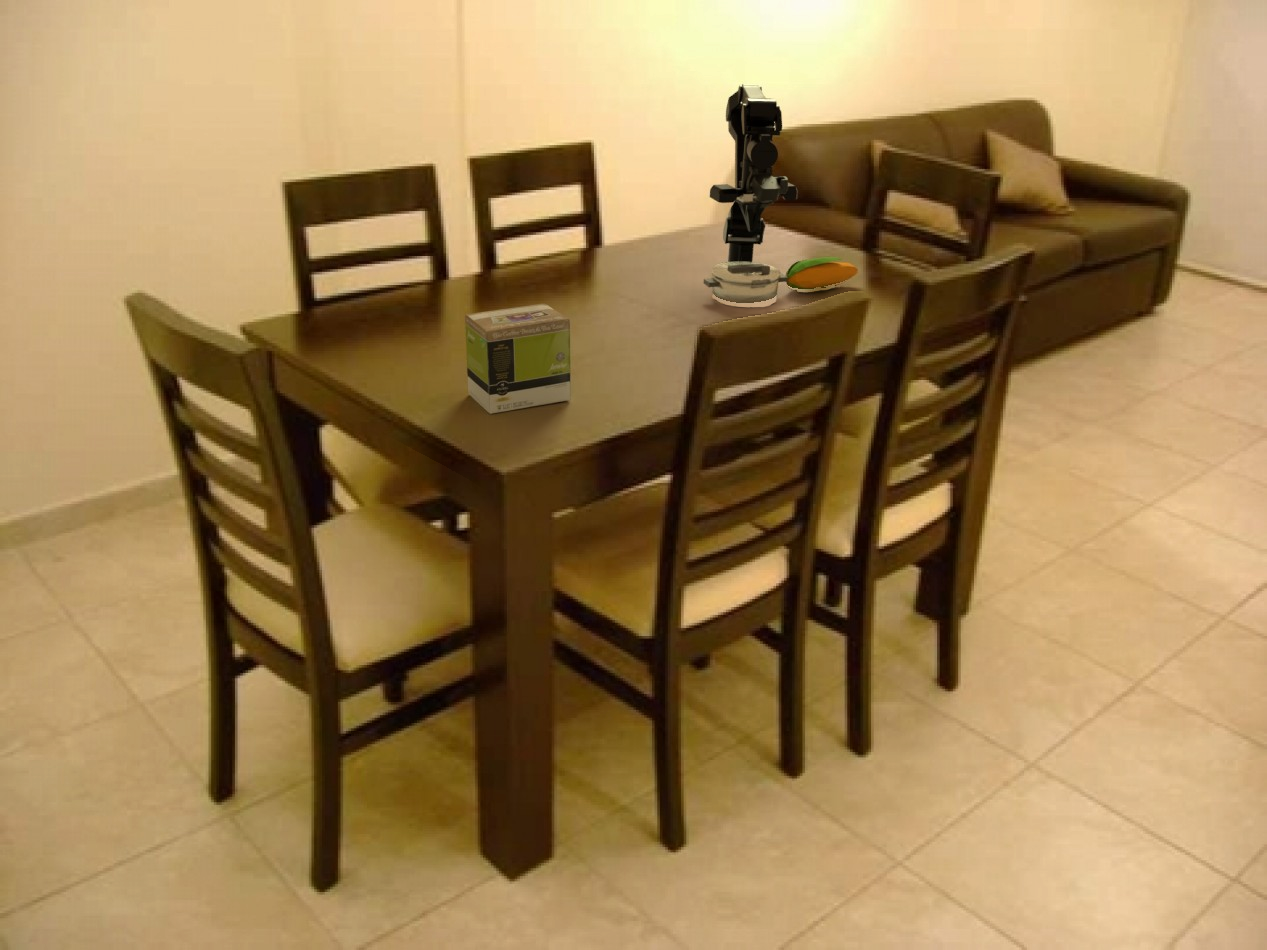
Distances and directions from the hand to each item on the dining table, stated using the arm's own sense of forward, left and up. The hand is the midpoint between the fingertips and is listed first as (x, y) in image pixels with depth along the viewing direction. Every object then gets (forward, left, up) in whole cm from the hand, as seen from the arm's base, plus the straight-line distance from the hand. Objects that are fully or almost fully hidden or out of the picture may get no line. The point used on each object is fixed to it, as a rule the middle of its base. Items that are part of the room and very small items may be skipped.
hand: (750, 231), depth 264 cm
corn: (+7, +15, -12) cm, 21 cm away
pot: (+9, -5, -12) cm, 16 cm away
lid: (+10, -5, -7) cm, 13 cm away
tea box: (+52, -67, -12) cm, 86 cm away
